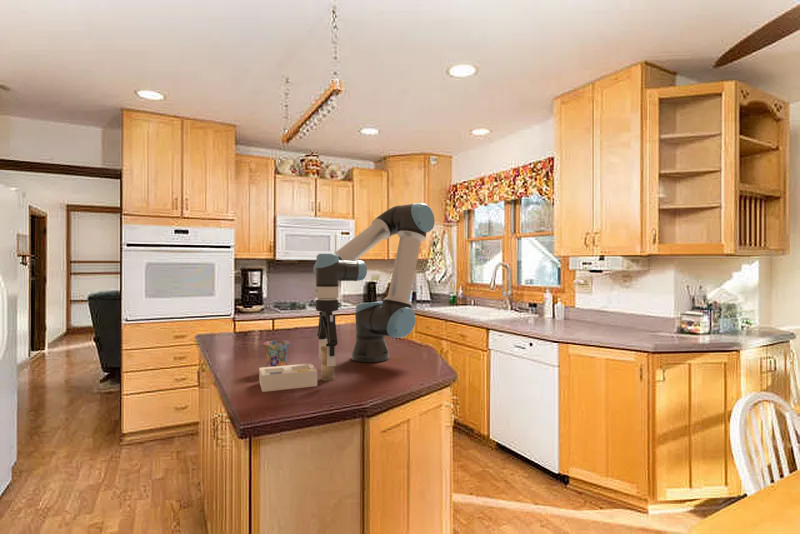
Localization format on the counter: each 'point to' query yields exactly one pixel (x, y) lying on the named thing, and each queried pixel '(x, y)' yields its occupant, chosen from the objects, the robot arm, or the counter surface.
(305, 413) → the counter surface
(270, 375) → the socket block
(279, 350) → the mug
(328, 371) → the peg
